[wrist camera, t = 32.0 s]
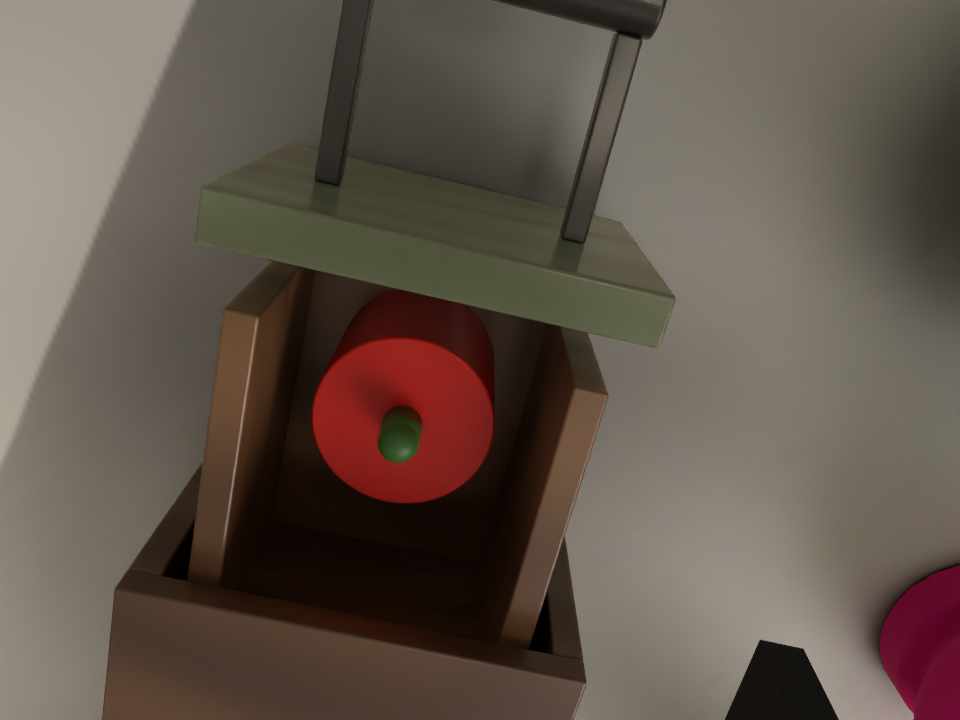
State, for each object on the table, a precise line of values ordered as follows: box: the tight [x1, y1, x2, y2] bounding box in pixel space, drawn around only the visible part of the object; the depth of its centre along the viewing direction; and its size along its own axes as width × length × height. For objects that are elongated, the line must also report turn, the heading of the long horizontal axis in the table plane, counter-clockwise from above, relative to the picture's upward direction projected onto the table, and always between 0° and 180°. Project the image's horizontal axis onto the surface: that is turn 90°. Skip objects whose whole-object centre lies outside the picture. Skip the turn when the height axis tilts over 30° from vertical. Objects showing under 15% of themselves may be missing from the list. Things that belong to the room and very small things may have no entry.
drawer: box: [187, 0, 675, 650], centre depth 22 cm, size 19×10×8 cm, turn 167°
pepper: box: [311, 290, 495, 503], centre depth 22 cm, size 5×5×6 cm
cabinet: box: [102, 462, 586, 720], centre depth 26 cm, size 14×11×10 cm
